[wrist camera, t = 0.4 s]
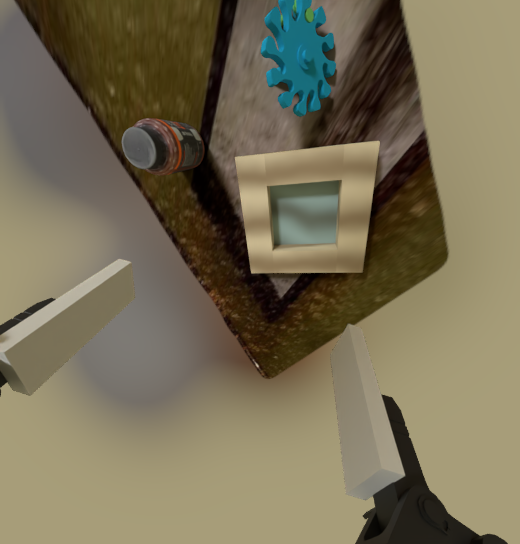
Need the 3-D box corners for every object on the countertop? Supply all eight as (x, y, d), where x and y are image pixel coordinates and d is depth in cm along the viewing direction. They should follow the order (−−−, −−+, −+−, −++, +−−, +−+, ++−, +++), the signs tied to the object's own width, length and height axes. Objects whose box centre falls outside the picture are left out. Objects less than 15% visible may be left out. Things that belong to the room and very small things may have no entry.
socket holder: (240, 156, 33) (234, 157, 30) (373, 141, 29) (380, 140, 27) (254, 265, 42) (251, 273, 39) (358, 263, 38) (362, 272, 35)
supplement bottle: (200, 120, 32) (154, 110, 22) (210, 166, 34) (172, 176, 25) (162, 126, 33) (103, 120, 23) (174, 170, 36) (126, 181, 26)
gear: (335, 118, 28) (270, 106, 22) (301, 128, 32) (240, 119, 27) (346, -7, 23) (269, -59, 18) (305, 24, 28) (234, -10, 23)
